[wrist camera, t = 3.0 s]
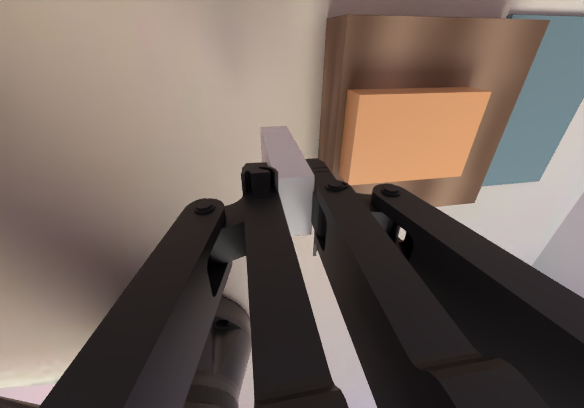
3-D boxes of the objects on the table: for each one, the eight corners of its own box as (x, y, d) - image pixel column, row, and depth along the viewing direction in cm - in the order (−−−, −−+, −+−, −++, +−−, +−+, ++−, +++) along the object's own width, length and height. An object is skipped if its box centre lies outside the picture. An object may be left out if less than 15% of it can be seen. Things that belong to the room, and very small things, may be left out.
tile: (338, 173, 21) (348, 185, 19) (347, 89, 18) (359, 95, 16) (443, 165, 22) (460, 176, 21) (469, 86, 19) (491, 91, 18)
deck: (316, 194, 26) (328, 217, 23) (327, 18, 19) (347, 14, 16) (445, 183, 29) (474, 202, 25) (500, 22, 21) (550, 19, 18)
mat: (448, 187, 29) (451, 189, 29) (508, 15, 21) (512, 14, 21) (535, 179, 31) (539, 181, 30) (620, 18, 23) (626, 17, 22)
